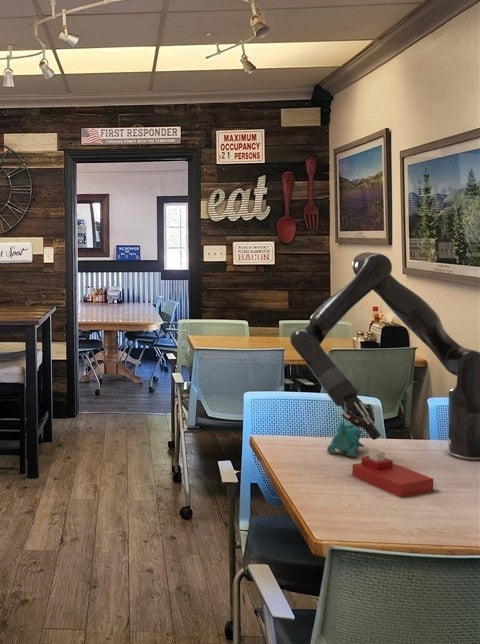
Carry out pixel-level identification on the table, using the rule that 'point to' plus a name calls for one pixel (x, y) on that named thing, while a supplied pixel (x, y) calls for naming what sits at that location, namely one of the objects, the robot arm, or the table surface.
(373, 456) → the white cube
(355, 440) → the toy
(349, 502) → the table surface
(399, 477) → the red push button box
